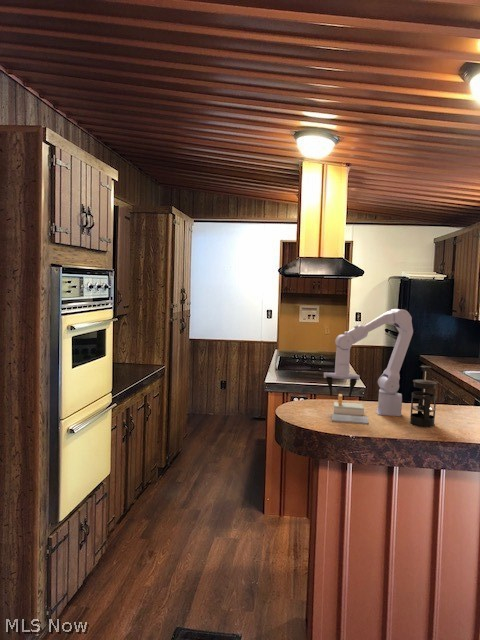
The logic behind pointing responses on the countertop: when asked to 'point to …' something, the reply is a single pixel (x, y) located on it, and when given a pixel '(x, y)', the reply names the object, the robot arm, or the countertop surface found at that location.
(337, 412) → the tub
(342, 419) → the mat
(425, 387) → the french press
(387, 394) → the robot arm
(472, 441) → the countertop surface
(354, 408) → the lid
